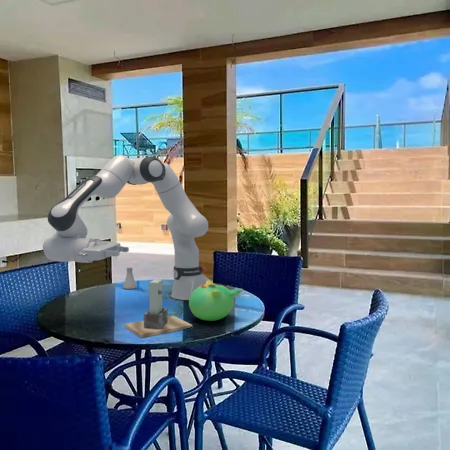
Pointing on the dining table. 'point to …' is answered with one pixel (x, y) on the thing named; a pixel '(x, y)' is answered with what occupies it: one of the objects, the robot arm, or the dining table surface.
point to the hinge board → (152, 332)
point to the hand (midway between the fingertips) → (123, 251)
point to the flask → (129, 280)
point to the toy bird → (212, 301)
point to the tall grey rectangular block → (155, 296)
